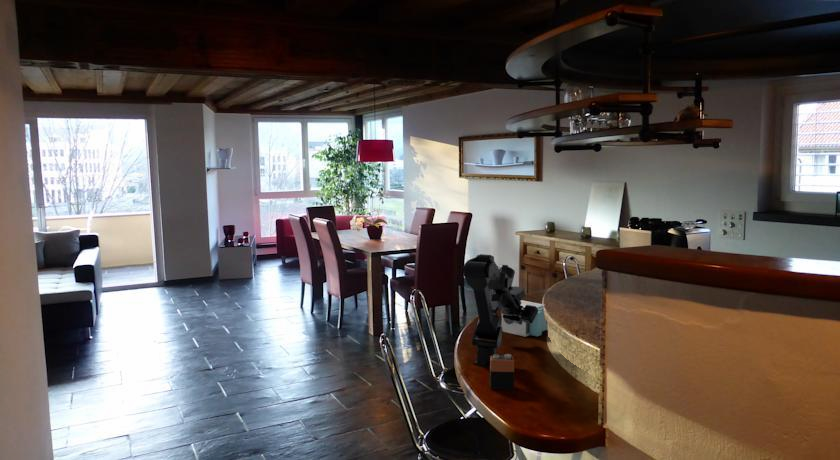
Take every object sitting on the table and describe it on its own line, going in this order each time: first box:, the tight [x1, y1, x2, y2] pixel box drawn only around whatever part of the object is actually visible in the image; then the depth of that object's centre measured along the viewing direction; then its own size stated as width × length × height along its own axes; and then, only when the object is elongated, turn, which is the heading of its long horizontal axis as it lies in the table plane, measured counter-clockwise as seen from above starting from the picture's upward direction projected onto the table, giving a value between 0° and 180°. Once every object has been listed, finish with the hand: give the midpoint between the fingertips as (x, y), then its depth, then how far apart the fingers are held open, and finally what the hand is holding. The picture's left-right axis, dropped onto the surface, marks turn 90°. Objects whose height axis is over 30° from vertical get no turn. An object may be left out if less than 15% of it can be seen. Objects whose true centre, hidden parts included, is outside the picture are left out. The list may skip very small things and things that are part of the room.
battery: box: [489, 353, 515, 391], centre depth 179 cm, size 4×7×10 cm, turn 87°
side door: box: [529, 308, 548, 337], centre depth 235 cm, size 11×4×9 cm, turn 137°
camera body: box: [500, 299, 543, 338], centre depth 240 cm, size 15×11×10 cm
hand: (521, 323), depth 225 cm, fingers closed
